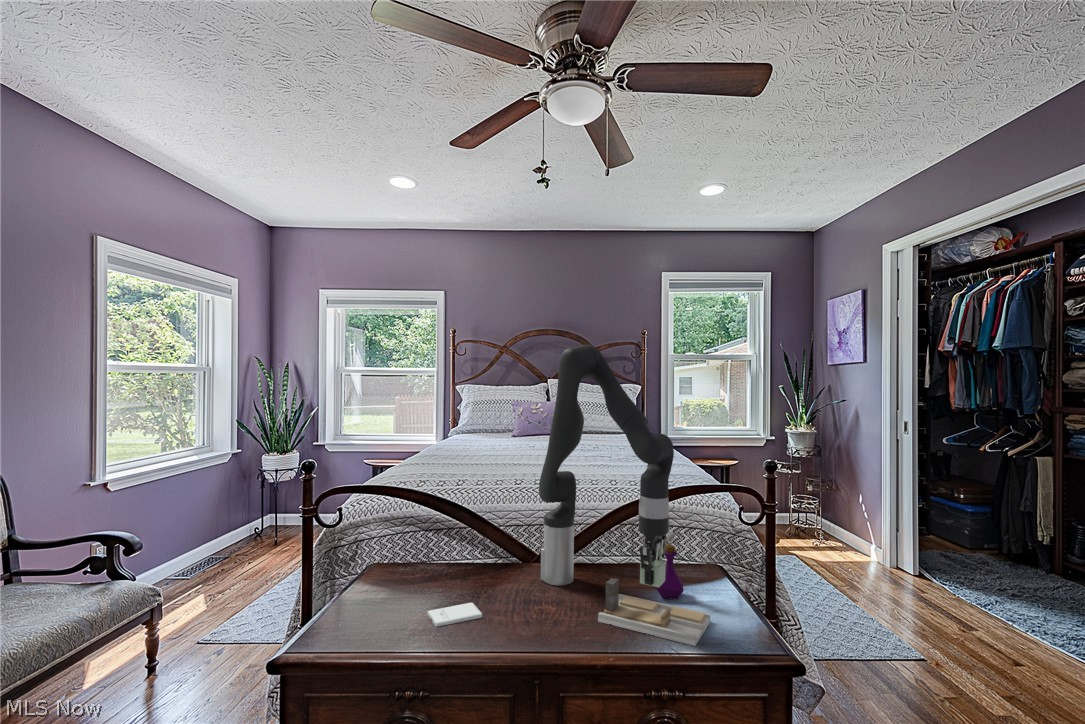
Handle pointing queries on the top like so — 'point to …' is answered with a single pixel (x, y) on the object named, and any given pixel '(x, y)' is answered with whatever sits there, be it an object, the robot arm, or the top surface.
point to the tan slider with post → (631, 613)
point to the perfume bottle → (670, 574)
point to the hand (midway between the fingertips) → (652, 580)
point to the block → (655, 573)
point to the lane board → (682, 621)
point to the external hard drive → (454, 614)
